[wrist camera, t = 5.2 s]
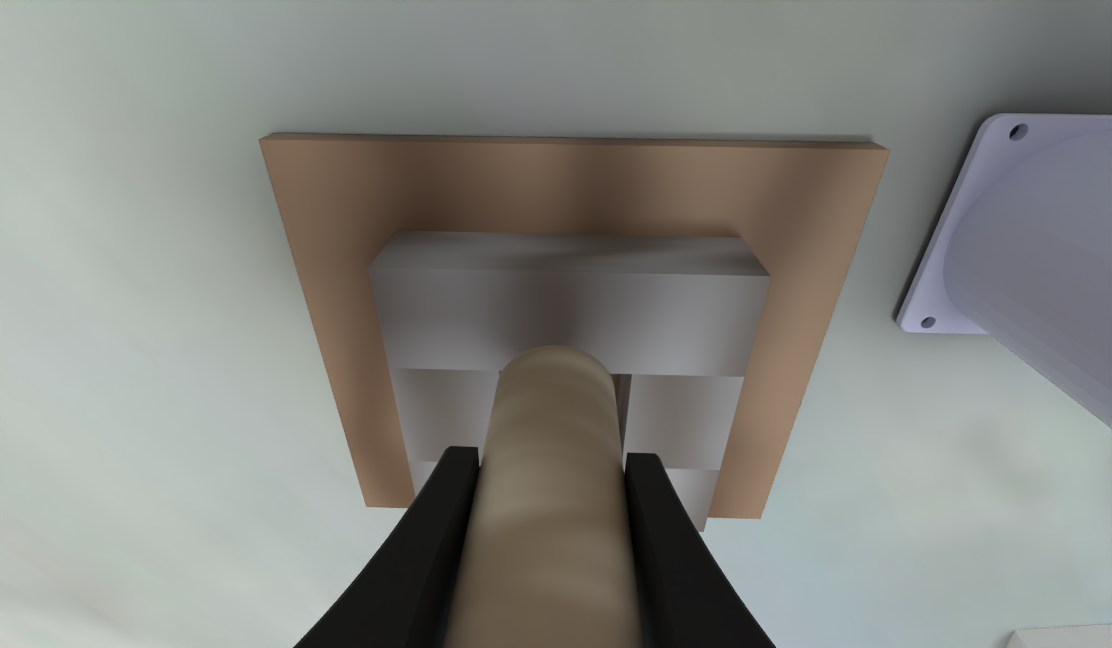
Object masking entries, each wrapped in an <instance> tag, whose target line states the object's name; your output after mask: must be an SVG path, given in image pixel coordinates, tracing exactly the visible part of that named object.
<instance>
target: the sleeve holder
mask: <svg viewBox="0 0 1112 648" xmlns="http://www.w3.org/2000/svg"><path fill="white" fill-rule="evenodd" d="M259 143H260V146H261V149H262V153H263V156H264V160H265V163H266V166H267V170H268V173H269V177H270V180H271V184H272V187H273V190H274V194H275V197H276V201H277V204H278V207H279V211H280V214H281V218H282V221H283V224H284V228H285V231H286V235H287V238H288V242H289V245H290V248H291V252H292V255H293V259H294V262H295V265H296V269H297V272H298V276H299V279H300V282H301V286H302V289H303V293H304V296H305V299H306V303H307V306H308V310H309V313H310V317H311V320H312V323H313V327H314V330H315V334H316V337H317V340H318V344H319V347H320V351H321V354H322V357H323V361H324V364H325V368H326V371H327V374H328V378H329V381H330V385H331V388H332V392H333V395H334V398H335V402H336V405H337V409H338V412H339V415H340V419H341V422H342V426H343V429H344V432H345V436H346V439H347V443H348V446H349V449H350V453H351V456H352V460H353V463H354V467H355V470H356V473H357V477H358V480H359V484H360V487H361V490H362V494H363V497H364V501H365V504H366V507H387V508H409V507H410V505H411V504H412V503H413V501H414V500H415V498H416V497H417V495H418V494H419V492H420V491H421V489H422V488H423V486H424V484H425V483H426V481H427V480H428V478H429V477H430V475H431V473H432V472H433V470H434V468H435V467H436V465H437V463H438V462H439V460H440V458H441V456H442V455H443V453H444V451H445V449H447V448H448V447H449V446H467V447H478V454H479V465H480V464H481V459H482V454H483V449H484V445H485V440H486V435H487V430H488V426H489V421H490V416H491V411H492V407H493V402H494V397H495V392H496V388H497V383H498V379H499V377H500V374H501V372H502V371H503V369H504V368H505V366H506V365H507V364H508V363H509V362H510V361H511V360H512V359H513V358H515V357H516V356H518V355H519V354H521V353H523V352H525V351H527V350H530V349H533V348H536V347H540V346H548V345H560V346H568V347H573V348H576V349H579V350H582V351H584V352H586V353H588V354H590V355H591V356H593V357H595V358H596V359H597V360H598V361H600V362H601V363H602V364H603V365H604V366H605V368H606V369H607V371H608V372H609V374H610V376H611V378H612V380H613V384H614V389H615V398H616V406H617V415H618V424H619V432H620V441H621V450H622V458H623V467H624V472H625V465H626V457H627V452H631V453H656V454H657V455H658V456H659V457H660V459H661V462H662V464H663V466H664V468H665V471H666V473H667V475H668V477H669V479H670V481H671V483H672V485H673V487H674V489H675V491H676V493H677V495H678V497H679V499H680V501H681V503H682V505H683V506H684V508H685V510H686V512H687V514H688V516H689V517H690V519H691V521H692V523H693V524H694V526H695V528H696V530H697V531H700V532H704V528H705V524H706V520H707V517H713V518H745V519H760V518H761V515H762V513H763V510H764V507H765V504H766V501H767V498H768V495H769V493H770V490H771V487H772V484H773V481H774V478H775V476H776V473H777V470H778V467H779V464H780V461H781V459H782V456H783V453H784V450H785V447H786V444H787V442H788V439H789V436H790V433H791V430H792V427H793V425H794V422H795V419H796V416H797V413H798V410H799V408H800V405H801V402H802V399H803V396H804V393H805V391H806V388H807V385H808V382H809V379H810V376H811V374H812V371H813V368H814V365H815V362H816V359H817V357H818V354H819V351H820V348H821V345H822V342H823V340H824V337H825V334H826V331H827V328H828V325H829V323H830V320H831V317H832V314H833V311H834V308H835V305H836V303H837V300H838V297H839V294H840V291H841V288H842V286H843V283H844V280H845V277H846V274H847V271H848V269H849V266H850V263H851V260H852V257H853V254H854V252H855V249H856V246H857V243H858V240H859V237H860V235H861V232H862V229H863V226H864V223H865V220H866V218H867V215H868V212H869V209H870V206H871V203H872V201H873V198H874V195H875V192H876V189H877V186H878V184H879V181H880V178H881V175H882V172H883V169H884V167H885V164H886V161H887V158H888V155H889V152H890V149H887V148H885V147H883V146H880V145H878V144H876V143H858V142H795V141H733V140H670V139H608V138H545V137H483V136H420V135H358V134H296V133H274V134H271V135H269V136H266V137H264V138H261V139H259Z"/></svg>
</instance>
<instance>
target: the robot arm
mask: <svg viewBox="0 0 1112 648" xmlns="http://www.w3.org/2000/svg"><path fill="white" fill-rule="evenodd" d="M1017 125H1019V128H1018V131H1017V132H1016V133H1015V135H1013V136H1012V137H1010V138H1009V135H1010V132H1011V130H1012V129H1013V128H1014V127H1015V126H1017ZM927 317H929V318H928V320H927V321H925V322H923V323H921V322H922V321H923V320H924V319H925V318H927ZM896 322H897V325H898V326H899V327H900V328H901V329H902V330H904V331H905V332H909V333H952V334H989V335H991V336H992V337H993V338H995V339H996V340H997V341H999V342H1000V343H1001V344H1002V345H1004V346H1005V347H1006V348H1008V349H1009V350H1010V351H1011V352H1013V353H1014V354H1015V355H1017V356H1018V357H1019V358H1021V359H1022V360H1023V361H1024V362H1026V363H1027V364H1028V365H1030V366H1031V367H1032V368H1033V369H1035V370H1036V371H1037V372H1039V373H1040V374H1041V375H1043V376H1044V377H1045V378H1046V379H1048V380H1049V381H1050V382H1052V383H1053V384H1054V385H1055V386H1057V387H1058V388H1059V389H1061V390H1062V391H1063V392H1065V393H1066V394H1067V395H1068V396H1070V397H1071V398H1072V399H1074V400H1075V401H1076V402H1077V403H1079V404H1080V405H1081V406H1083V407H1084V408H1085V409H1087V410H1088V411H1089V412H1090V413H1092V414H1093V415H1094V416H1096V417H1097V418H1098V419H1099V420H1101V421H1102V422H1103V423H1105V424H1106V425H1107V426H1109V427H1110V428H1111V429H1112V115H1094V114H1026V113H1000V114H995V115H993V116H991V117H989V118H988V119H987V120H986V121H985V122H984V123H983V124H982V125H981V127H980V128H979V130H978V132H977V135H976V137H975V139H974V142H973V144H972V146H971V148H970V151H969V153H968V155H967V158H966V160H965V162H964V165H963V167H962V169H961V172H960V174H959V176H958V178H957V181H956V183H955V185H954V188H953V190H952V192H951V195H950V197H949V199H948V201H947V204H946V206H945V208H944V211H943V213H942V215H941V218H940V220H939V222H938V224H937V227H936V229H935V231H934V234H933V236H932V238H931V241H930V243H929V245H928V247H927V250H926V252H925V254H924V257H923V259H922V261H921V264H920V266H919V268H918V271H917V273H916V275H915V277H914V280H913V282H912V284H911V287H910V289H909V291H908V294H907V296H906V298H905V300H904V303H903V305H902V307H901V310H900V312H899V314H898V317H897V321H896ZM479 468H480V465H479V454H478V447H467V446H449V447H448V448H447V449H445V451H444V453H443V455H442V456H441V458H440V460H439V462H438V463H437V465H436V467H435V468H434V470H433V472H432V473H431V475H430V477H429V478H428V480H427V481H426V483H425V484H424V486H423V488H422V489H421V491H420V492H419V494H418V495H417V497H416V498H415V500H414V501H413V503H412V504H411V505H410V507H409V508H408V510H407V511H406V513H405V514H404V515H403V517H402V518H401V520H400V521H399V523H398V524H397V525H396V527H395V528H394V530H393V531H392V532H391V534H390V535H389V536H388V538H387V539H386V540H385V542H384V543H383V544H382V545H381V547H380V548H379V549H378V551H377V552H376V553H375V554H374V556H373V557H372V558H371V560H370V561H369V562H368V563H367V565H366V566H365V567H364V569H363V570H362V571H361V572H360V574H359V575H358V576H357V577H356V578H355V580H354V581H353V582H352V583H351V584H350V586H349V587H348V588H347V589H346V590H345V592H344V593H343V594H342V595H341V596H340V597H339V598H338V600H337V601H336V602H335V603H334V604H333V605H332V606H331V607H330V609H329V610H328V611H327V612H326V613H325V614H324V615H323V616H322V618H321V619H320V620H319V621H318V622H317V623H316V624H315V625H314V626H313V627H312V628H311V629H310V630H309V632H308V633H307V634H306V635H305V636H304V637H303V638H302V639H301V640H300V641H299V642H298V643H297V644H296V645H295V646H294V647H293V648H442V644H443V640H444V635H445V630H446V625H447V621H448V616H449V611H450V606H451V602H452V597H453V592H454V587H455V583H456V578H457V573H458V568H459V563H460V559H461V554H462V549H463V544H464V540H465V535H466V530H467V525H468V521H469V516H470V511H471V506H472V502H473V497H474V492H475V487H476V483H477V478H478V473H479ZM624 476H625V485H626V493H627V502H628V511H629V519H630V527H631V536H632V545H633V553H634V562H635V571H636V579H637V588H638V597H639V605H640V614H641V623H642V631H643V640H644V648H776V647H775V645H774V644H773V643H772V641H771V640H770V639H769V637H768V636H767V635H766V633H765V632H764V631H763V629H762V628H761V627H760V625H759V624H758V623H757V621H756V620H755V619H754V617H753V616H752V614H751V613H750V612H749V610H748V609H747V607H746V606H745V605H744V603H743V602H742V600H741V599H740V597H739V596H738V594H737V593H736V592H735V590H734V589H733V587H732V586H731V584H730V583H729V581H728V579H727V578H726V576H725V575H724V573H723V572H722V570H721V569H720V567H719V566H718V564H717V563H716V561H715V559H714V558H713V556H712V555H711V553H710V551H709V550H708V548H707V546H706V545H705V543H704V541H703V540H702V538H701V536H700V535H699V533H698V531H697V530H696V528H695V526H694V524H693V523H692V521H691V519H690V517H689V516H688V514H687V512H686V510H685V508H684V506H683V505H682V503H681V501H680V499H679V497H678V495H677V493H676V491H675V489H674V487H673V485H672V483H671V481H670V479H669V477H668V475H667V473H666V471H665V468H664V466H663V464H662V462H661V459H660V457H659V456H658V455H657V454H656V453H631V452H627V457H626V465H625V472H624Z"/></svg>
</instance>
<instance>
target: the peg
mask: <svg viewBox="0 0 1112 648" xmlns="http://www.w3.org/2000/svg"><path fill="white" fill-rule="evenodd" d="M442 648H644V640H643V631H642V623H641V614H640V605H639V597H638V588H637V579H636V571H635V562H634V553H633V545H632V536H631V527H630V519H629V511H628V502H627V493H626V485H625V476H624V467H623V458H622V450H621V441H620V432H619V424H618V415H617V406H616V398H615V389H614V384H613V380H612V378H611V376H610V374H609V372H608V371H607V369H606V368H605V366H604V365H603V364H602V363H601V362H600V361H598V360H597V359H596V358H595V357H593V356H591V355H590V354H588V353H586V352H584V351H582V350H579V349H576V348H573V347H568V346H560V345H548V346H540V347H536V348H533V349H530V350H527V351H525V352H523V353H521V354H519V355H518V356H516V357H515V358H513V359H512V360H511V361H510V362H509V363H508V364H507V365H506V366H505V368H504V369H503V371H502V372H501V374H500V377H499V379H498V383H497V388H496V392H495V397H494V402H493V407H492V411H491V416H490V421H489V426H488V430H487V435H486V440H485V445H484V449H483V454H482V459H481V464H480V468H479V473H478V478H477V483H476V487H475V492H474V497H473V502H472V506H471V511H470V516H469V521H468V525H467V530H466V535H465V540H464V544H463V549H462V554H461V559H460V563H459V568H458V573H457V578H456V583H455V587H454V592H453V597H452V602H451V606H450V611H449V616H448V621H447V625H446V630H445V635H444V640H443V644H442Z"/></svg>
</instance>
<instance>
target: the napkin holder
mask: <svg viewBox="0 0 1112 648" xmlns="http://www.w3.org/2000/svg"><path fill="white" fill-rule="evenodd" d="M1005 648H1112V624H1107V625H1091V626H1075V627H1059V628H1043V629H1027V630H1015V631H1014V633H1013V635H1012V637H1011V638H1010V640H1009V642H1008V644H1007V646H1006V647H1005Z"/></svg>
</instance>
